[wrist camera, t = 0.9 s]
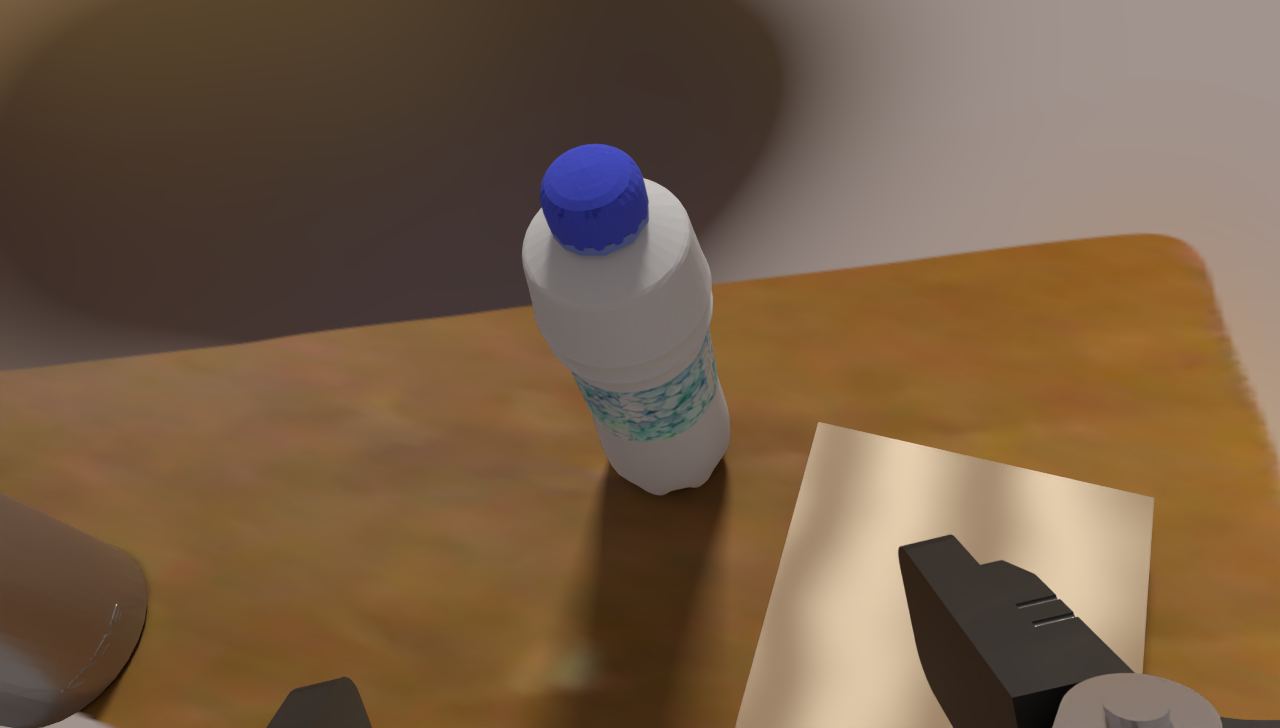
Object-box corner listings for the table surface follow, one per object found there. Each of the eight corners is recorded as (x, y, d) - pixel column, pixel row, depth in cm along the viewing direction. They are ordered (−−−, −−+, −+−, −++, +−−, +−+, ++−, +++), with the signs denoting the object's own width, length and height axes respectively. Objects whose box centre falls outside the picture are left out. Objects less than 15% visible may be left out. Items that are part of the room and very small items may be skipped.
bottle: (747, 397, 43) (709, 94, 27) (725, 519, 40) (665, 263, 23) (623, 383, 45) (513, 89, 28) (592, 499, 42) (447, 246, 25)
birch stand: (738, 738, 35) (734, 730, 33) (818, 445, 41) (818, 422, 39) (1107, 869, 31) (1129, 868, 29) (1134, 519, 37) (1154, 498, 35)
